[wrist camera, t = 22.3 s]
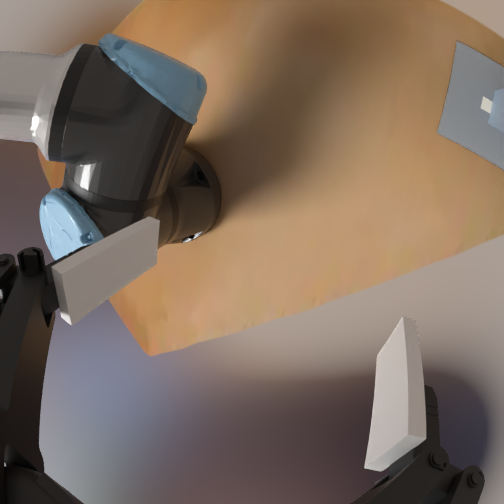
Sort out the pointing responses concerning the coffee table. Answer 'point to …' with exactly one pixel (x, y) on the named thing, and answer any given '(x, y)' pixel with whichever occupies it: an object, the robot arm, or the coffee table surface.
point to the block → (497, 110)
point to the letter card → (473, 104)
